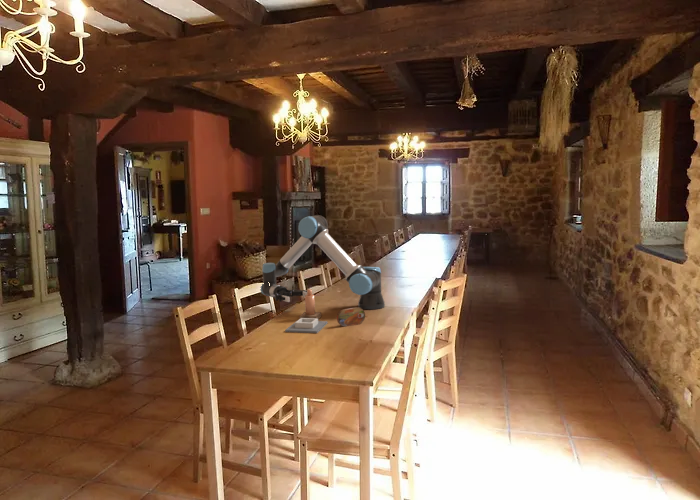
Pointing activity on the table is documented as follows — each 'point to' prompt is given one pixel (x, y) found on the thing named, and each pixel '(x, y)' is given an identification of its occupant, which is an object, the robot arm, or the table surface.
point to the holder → (306, 325)
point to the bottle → (309, 303)
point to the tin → (351, 316)
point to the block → (316, 315)
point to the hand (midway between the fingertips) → (299, 297)
